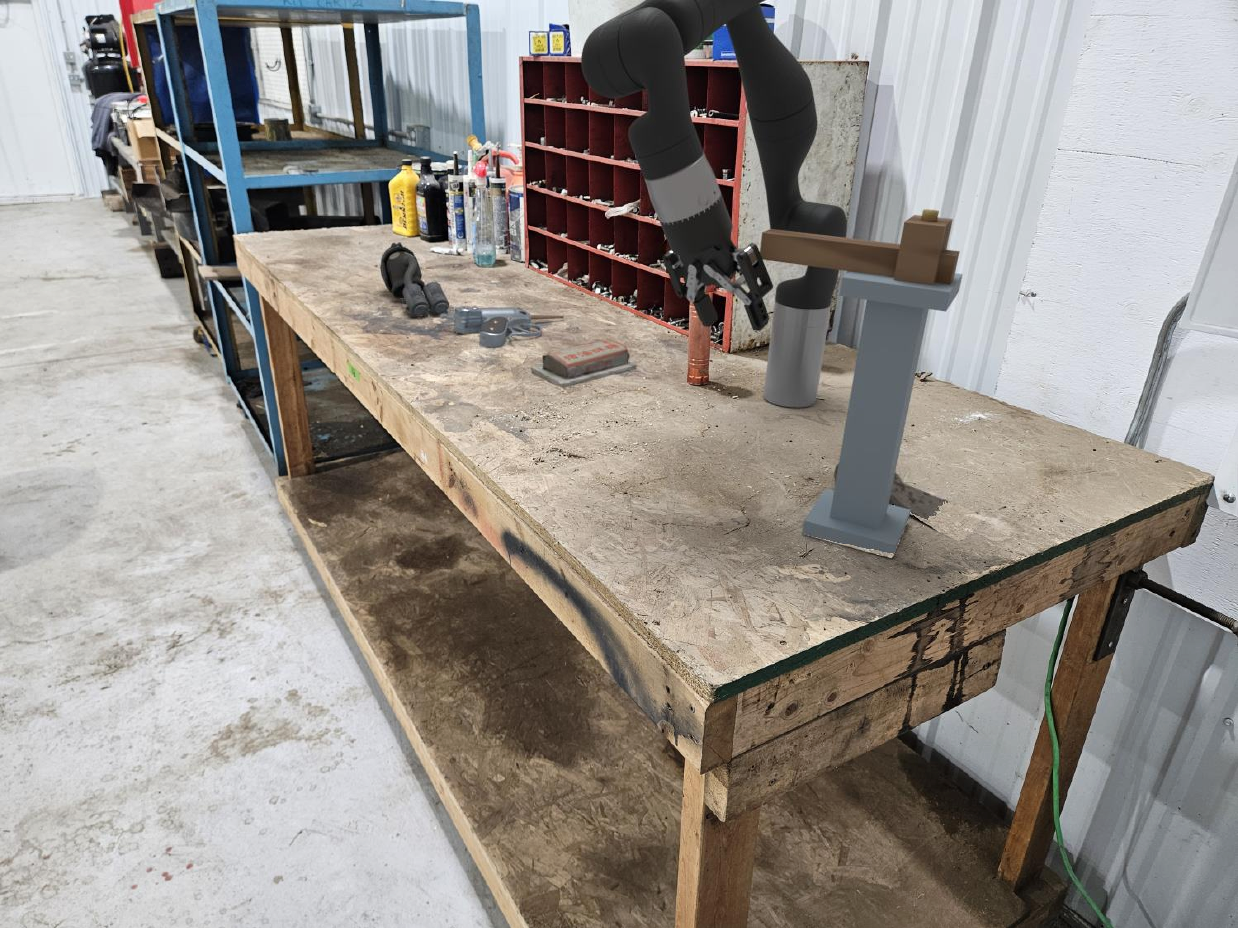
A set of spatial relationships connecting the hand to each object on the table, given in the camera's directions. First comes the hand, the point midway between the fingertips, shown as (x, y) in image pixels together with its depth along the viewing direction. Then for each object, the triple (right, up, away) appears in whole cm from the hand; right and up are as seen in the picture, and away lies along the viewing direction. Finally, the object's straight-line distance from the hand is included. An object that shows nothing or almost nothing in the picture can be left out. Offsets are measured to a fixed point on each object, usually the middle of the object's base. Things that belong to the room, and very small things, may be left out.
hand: (735, 325), depth 99 cm
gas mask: (-63, +20, +92) cm, 113 cm away
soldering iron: (-37, +10, +73) cm, 82 cm away
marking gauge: (+12, +5, -9) cm, 16 cm away
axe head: (+25, -23, +10) cm, 35 cm away
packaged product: (-21, 0, +53) cm, 57 cm away
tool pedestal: (+16, -25, +3) cm, 30 cm away
